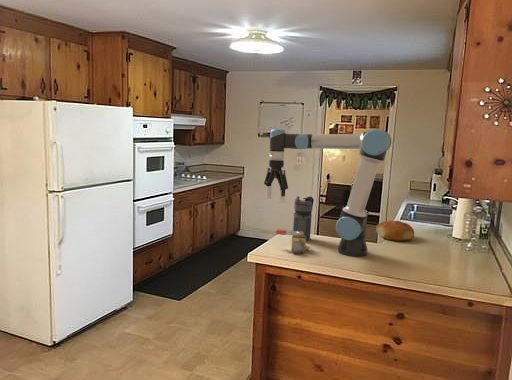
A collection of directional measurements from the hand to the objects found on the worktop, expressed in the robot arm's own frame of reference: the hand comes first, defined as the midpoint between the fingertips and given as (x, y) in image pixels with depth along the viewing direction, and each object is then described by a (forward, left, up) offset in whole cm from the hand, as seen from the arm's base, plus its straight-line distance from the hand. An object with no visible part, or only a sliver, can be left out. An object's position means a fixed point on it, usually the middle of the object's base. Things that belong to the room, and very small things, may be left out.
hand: (275, 200), depth 217 cm
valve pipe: (-14, 0, -25) cm, 29 cm away
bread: (-70, -45, -25) cm, 87 cm away
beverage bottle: (-15, -23, -25) cm, 37 cm away
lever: (-9, 0, -18) cm, 20 cm away
